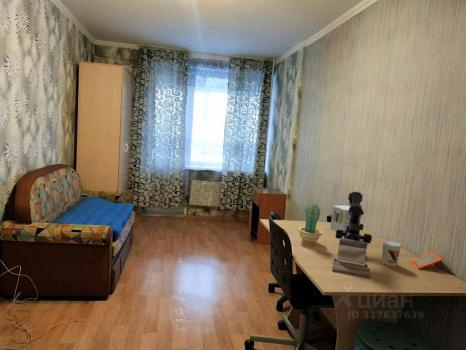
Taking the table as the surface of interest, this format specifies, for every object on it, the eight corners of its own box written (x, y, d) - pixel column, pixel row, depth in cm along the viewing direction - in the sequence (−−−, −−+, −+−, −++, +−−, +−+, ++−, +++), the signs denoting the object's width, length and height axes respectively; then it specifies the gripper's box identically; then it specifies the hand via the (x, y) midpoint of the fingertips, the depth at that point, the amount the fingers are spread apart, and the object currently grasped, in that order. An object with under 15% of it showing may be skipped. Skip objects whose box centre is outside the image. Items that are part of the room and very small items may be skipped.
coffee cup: (387, 267, 200) (390, 246, 198) (376, 260, 209) (379, 240, 207) (401, 266, 202) (404, 246, 201) (390, 260, 211) (393, 240, 210)
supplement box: (329, 228, 270) (332, 205, 268) (342, 227, 277) (345, 205, 274) (342, 234, 259) (345, 210, 256) (356, 232, 265) (359, 209, 263)
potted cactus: (319, 240, 239) (324, 202, 236) (323, 247, 224) (327, 208, 221) (295, 237, 241) (300, 200, 237) (297, 244, 225) (302, 205, 222)
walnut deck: (333, 261, 201) (333, 257, 201) (367, 267, 196) (368, 264, 196) (332, 271, 187) (332, 266, 187) (369, 278, 182) (369, 273, 182)
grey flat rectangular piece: (337, 259, 199) (337, 257, 201) (364, 264, 195) (364, 262, 197) (339, 239, 196) (339, 237, 198) (367, 243, 192) (367, 242, 194)
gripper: (338, 215, 202) (335, 239, 193) (373, 220, 197) (372, 245, 188) (336, 225, 211) (333, 249, 202) (370, 230, 205) (369, 255, 196)
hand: (352, 250), depth 197 cm, fingers closed, pressing on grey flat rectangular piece
